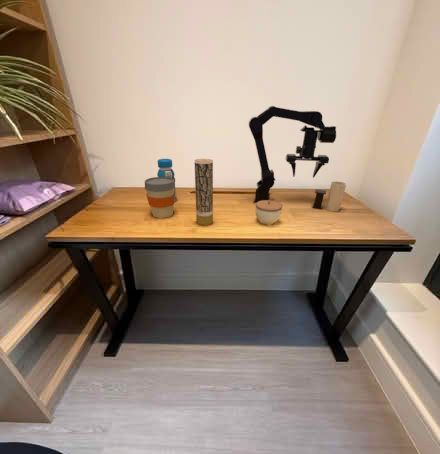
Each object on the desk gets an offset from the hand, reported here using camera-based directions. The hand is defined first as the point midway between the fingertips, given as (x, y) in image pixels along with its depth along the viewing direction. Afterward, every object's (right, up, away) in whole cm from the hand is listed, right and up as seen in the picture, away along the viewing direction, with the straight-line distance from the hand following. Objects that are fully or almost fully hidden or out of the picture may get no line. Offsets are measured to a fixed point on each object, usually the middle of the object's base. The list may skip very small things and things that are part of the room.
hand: (303, 177), depth 121 cm
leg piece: (+7, -14, +1) cm, 16 cm away
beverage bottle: (-67, -10, +6) cm, 68 cm away
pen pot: (+14, -15, -1) cm, 21 cm away
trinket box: (-20, -23, -15) cm, 34 cm away
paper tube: (-47, -24, -16) cm, 55 cm away
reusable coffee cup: (-66, -19, -9) cm, 69 cm away
